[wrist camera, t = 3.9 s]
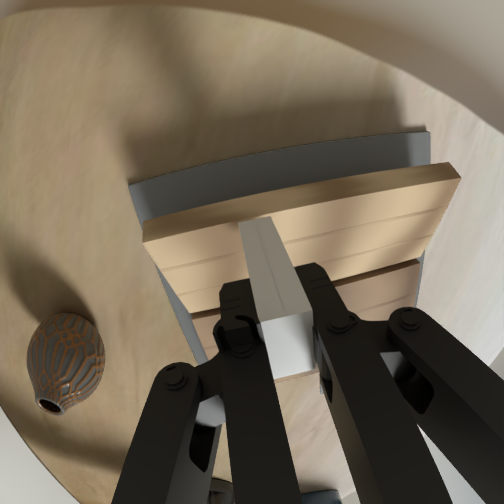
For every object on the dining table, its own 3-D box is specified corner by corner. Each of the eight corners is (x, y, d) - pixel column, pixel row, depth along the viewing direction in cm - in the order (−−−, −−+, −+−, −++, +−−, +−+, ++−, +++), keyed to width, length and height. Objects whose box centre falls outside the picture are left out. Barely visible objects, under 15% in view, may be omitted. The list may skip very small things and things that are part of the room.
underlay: (209, 384, 29) (209, 387, 29) (129, 184, 19) (127, 186, 19) (408, 330, 30) (410, 333, 30) (426, 131, 20) (430, 132, 19)
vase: (126, 341, 26) (110, 423, 18) (80, 363, 26) (60, 435, 19) (73, 287, 22) (35, 366, 15) (32, 317, 23) (-3, 388, 15)
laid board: (222, 381, 29) (223, 393, 28) (192, 307, 24) (191, 320, 23) (399, 334, 29) (406, 343, 28) (411, 254, 24) (420, 263, 23)
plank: (187, 295, 23) (189, 313, 23) (143, 220, 16) (142, 243, 15) (412, 242, 24) (420, 256, 23) (448, 161, 16) (461, 177, 16)
